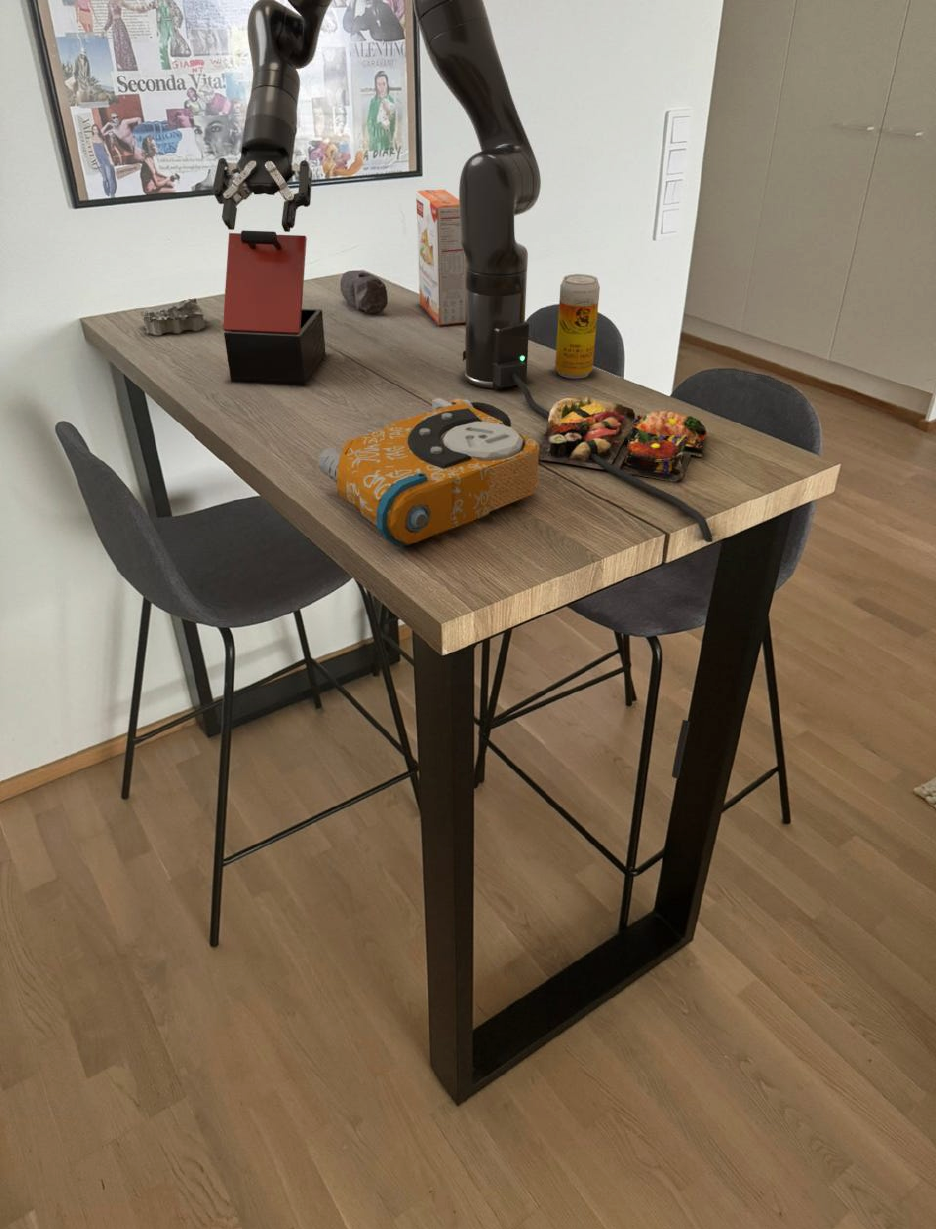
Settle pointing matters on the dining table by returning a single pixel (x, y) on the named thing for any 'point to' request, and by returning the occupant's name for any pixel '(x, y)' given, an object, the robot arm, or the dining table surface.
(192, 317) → the egg carton
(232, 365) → the black open box
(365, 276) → the perforated stone tool
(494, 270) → the robot arm
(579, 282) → the beer can
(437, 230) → the cracker box
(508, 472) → the device
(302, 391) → the dining table surface
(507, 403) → the dining table surface
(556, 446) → the food
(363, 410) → the dining table surface
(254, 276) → the lid
